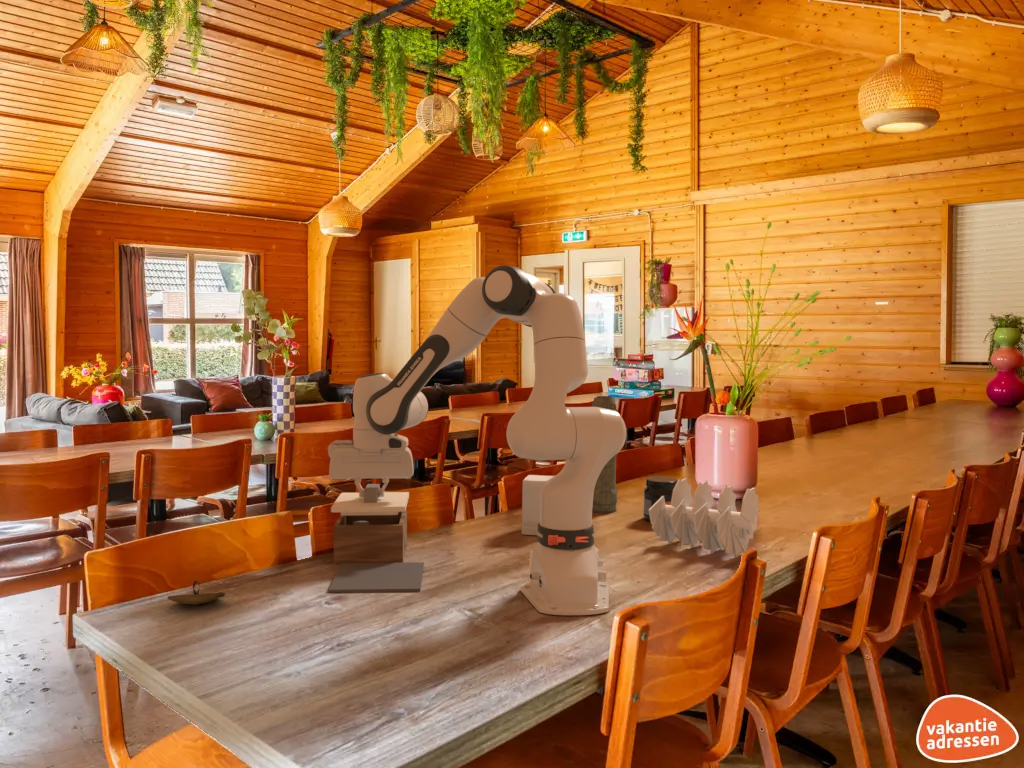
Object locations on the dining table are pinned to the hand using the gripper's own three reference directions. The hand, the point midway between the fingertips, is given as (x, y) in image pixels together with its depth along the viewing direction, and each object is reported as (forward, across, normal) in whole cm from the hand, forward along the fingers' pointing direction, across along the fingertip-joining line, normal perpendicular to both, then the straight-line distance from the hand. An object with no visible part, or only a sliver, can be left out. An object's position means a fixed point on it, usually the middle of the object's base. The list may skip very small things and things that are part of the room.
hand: (371, 496), depth 194 cm
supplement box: (+14, +44, +20) cm, 50 cm away
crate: (+14, 0, 0) cm, 14 cm away
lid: (+15, -31, -35) cm, 49 cm away
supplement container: (+15, +80, +33) cm, 88 cm away
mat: (+14, +3, -19) cm, 24 cm away
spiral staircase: (+15, +83, +1) cm, 85 cm away
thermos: (+14, +66, +46) cm, 81 cm away
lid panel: (+3, 0, 0) cm, 3 cm away
